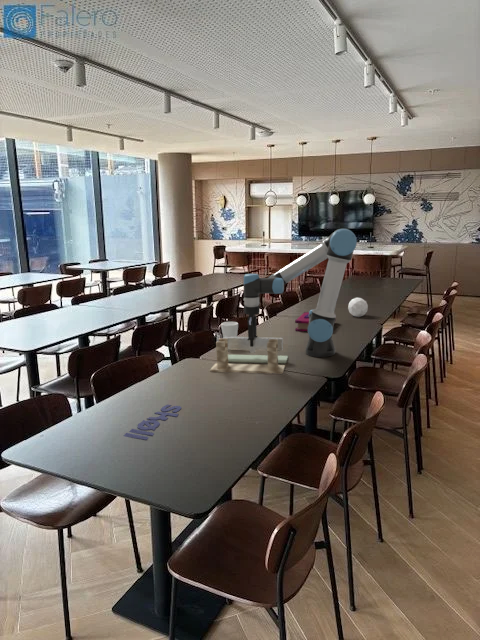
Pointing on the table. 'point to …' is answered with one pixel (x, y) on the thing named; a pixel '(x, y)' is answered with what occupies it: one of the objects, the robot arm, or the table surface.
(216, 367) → the rail stand
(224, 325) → the foam cup
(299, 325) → the book
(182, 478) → the table surface
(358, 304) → the geodesic sphere
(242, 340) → the rail bar
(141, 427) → the signage
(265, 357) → the green board
